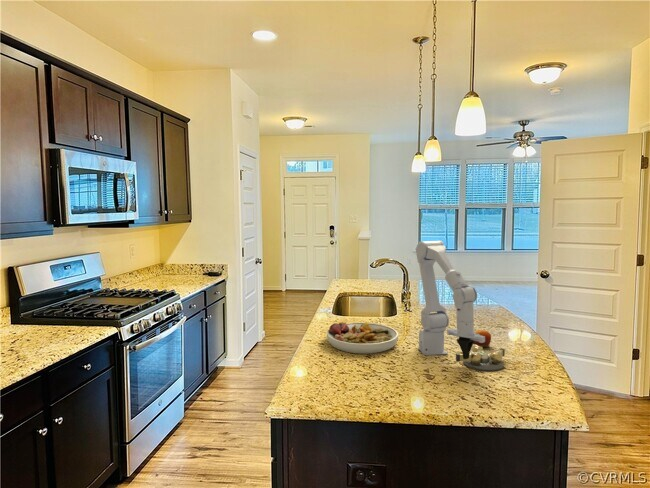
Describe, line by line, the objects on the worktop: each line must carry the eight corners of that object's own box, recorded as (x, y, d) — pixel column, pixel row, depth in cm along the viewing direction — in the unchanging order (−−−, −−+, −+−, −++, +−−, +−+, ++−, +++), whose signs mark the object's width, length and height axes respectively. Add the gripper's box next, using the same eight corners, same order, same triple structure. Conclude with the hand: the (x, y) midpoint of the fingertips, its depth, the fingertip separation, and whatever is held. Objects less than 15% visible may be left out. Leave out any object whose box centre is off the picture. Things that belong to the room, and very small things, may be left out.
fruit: (481, 348, 163) (475, 328, 167) (470, 352, 170) (465, 333, 174) (498, 346, 166) (492, 326, 169) (487, 350, 172) (481, 331, 176)
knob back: (484, 356, 154) (484, 347, 154) (474, 357, 154) (475, 348, 153) (474, 349, 162) (474, 340, 162) (465, 349, 162) (465, 340, 162)
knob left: (479, 360, 150) (479, 351, 150) (481, 364, 147) (482, 355, 146) (455, 360, 151) (455, 350, 151) (456, 363, 148) (457, 354, 147)
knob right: (499, 364, 147) (500, 354, 146) (489, 361, 149) (489, 352, 149) (507, 357, 153) (507, 348, 153) (497, 355, 155) (497, 346, 155)
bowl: (401, 336, 186) (401, 318, 185) (393, 359, 157) (393, 339, 156) (336, 331, 194) (336, 314, 193) (318, 352, 165) (317, 333, 165)
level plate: (472, 372, 144) (473, 359, 143) (456, 357, 158) (456, 346, 157) (511, 370, 145) (511, 357, 144) (491, 356, 159) (492, 344, 158)
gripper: (490, 322, 143) (490, 361, 144) (455, 315, 155) (456, 351, 156) (477, 325, 139) (478, 365, 140) (443, 318, 151) (443, 355, 152)
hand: (465, 358), depth 147 cm, fingers closed, pressing on knob left
